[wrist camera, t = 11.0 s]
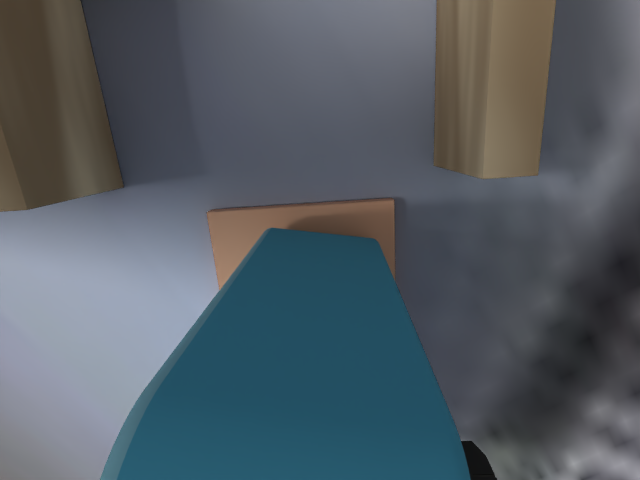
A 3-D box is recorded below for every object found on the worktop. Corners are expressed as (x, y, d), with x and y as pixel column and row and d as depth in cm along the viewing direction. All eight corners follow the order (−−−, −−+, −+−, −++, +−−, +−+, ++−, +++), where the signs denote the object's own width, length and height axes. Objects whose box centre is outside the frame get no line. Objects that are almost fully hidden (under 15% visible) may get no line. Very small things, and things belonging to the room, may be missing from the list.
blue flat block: (343, 448, 18) (357, 984, 7) (258, 438, 18) (126, 954, 7) (375, 229, 15) (521, 553, 3) (271, 218, 15) (46, 498, 3)
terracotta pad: (250, 448, 19) (247, 457, 19) (211, 209, 15) (206, 212, 15) (395, 444, 19) (397, 454, 18) (392, 197, 15) (394, 200, 14)
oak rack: (91, 189, 15) (-19, 212, 11) (24, -68, 13) (-163, -193, 8) (470, 163, 14) (538, 175, 10) (483, -123, 12) (586, -303, 7)
